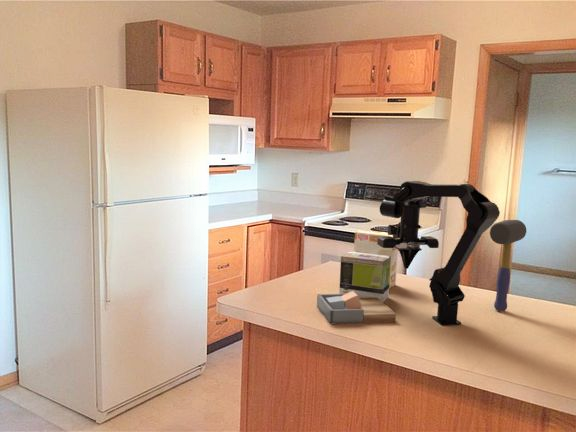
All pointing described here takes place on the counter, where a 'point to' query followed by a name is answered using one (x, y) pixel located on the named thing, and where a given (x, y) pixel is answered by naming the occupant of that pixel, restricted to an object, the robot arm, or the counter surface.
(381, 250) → the coffeecake box
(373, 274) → the tea box
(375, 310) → the board
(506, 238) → the rubber mallet
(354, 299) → the peach cube
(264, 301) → the counter surface
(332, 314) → the tray
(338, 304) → the gray cube
